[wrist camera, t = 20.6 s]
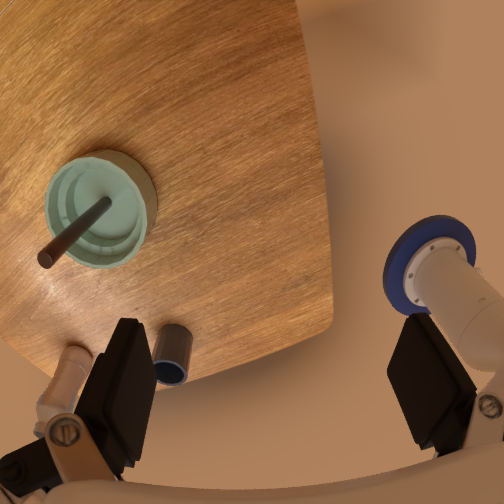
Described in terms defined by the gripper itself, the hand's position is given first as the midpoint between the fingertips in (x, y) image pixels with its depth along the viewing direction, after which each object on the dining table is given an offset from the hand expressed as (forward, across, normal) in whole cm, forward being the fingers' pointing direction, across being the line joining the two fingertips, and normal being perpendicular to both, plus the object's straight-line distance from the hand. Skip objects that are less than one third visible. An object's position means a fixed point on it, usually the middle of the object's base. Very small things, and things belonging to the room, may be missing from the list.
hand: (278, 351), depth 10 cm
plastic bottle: (+31, +32, +33) cm, 55 cm away
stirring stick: (+30, +19, +4) cm, 36 cm away
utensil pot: (+30, +12, +27) cm, 42 cm away
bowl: (+30, +19, +4) cm, 36 cm away
